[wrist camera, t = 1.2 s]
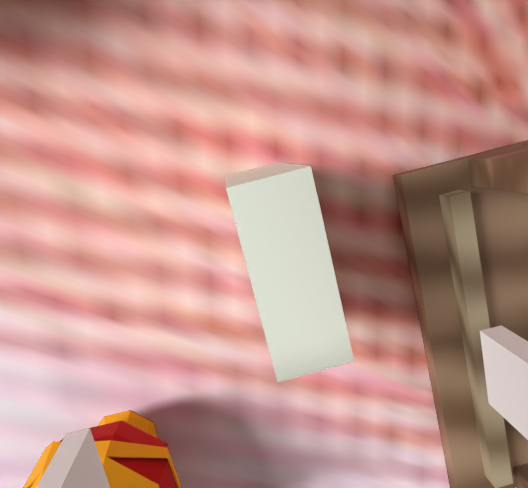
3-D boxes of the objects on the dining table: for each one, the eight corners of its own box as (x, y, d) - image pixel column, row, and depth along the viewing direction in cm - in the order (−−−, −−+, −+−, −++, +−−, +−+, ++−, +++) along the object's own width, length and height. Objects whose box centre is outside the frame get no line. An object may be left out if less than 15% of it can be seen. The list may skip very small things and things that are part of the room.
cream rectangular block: (224, 175, 32) (226, 187, 20) (282, 161, 32) (317, 164, 20) (258, 304, 34) (277, 382, 22) (313, 289, 34) (359, 360, 23)
